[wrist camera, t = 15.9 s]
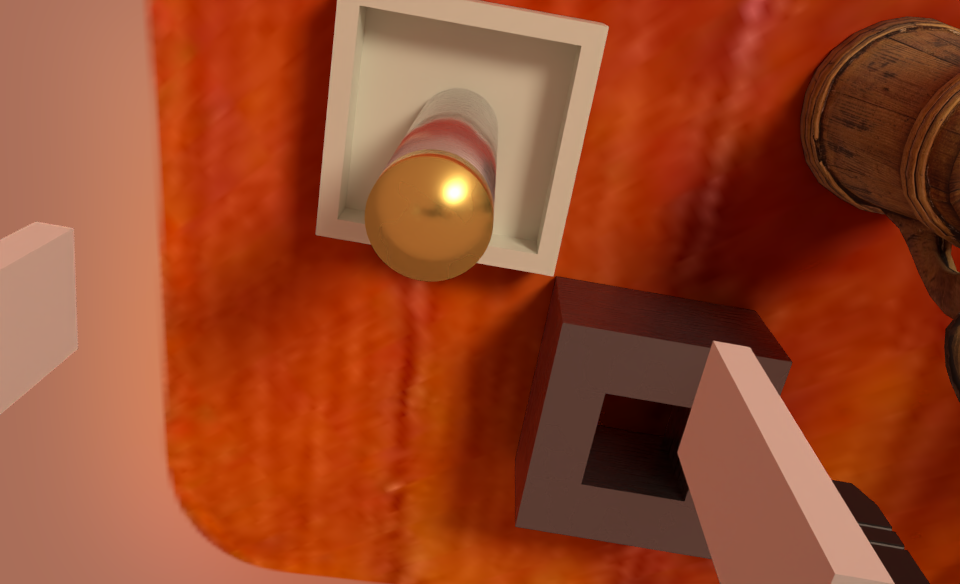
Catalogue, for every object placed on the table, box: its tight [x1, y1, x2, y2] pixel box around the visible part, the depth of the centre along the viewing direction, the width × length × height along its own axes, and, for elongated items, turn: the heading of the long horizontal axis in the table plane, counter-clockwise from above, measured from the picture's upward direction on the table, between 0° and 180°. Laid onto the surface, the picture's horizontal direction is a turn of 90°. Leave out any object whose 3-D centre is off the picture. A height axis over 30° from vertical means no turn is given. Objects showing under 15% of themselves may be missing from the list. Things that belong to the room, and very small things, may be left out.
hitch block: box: [515, 276, 792, 559], centre depth 41 cm, size 12×11×6 cm
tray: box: [315, 0, 609, 276], centre depth 37 cm, size 12×12×3 cm
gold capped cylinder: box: [365, 88, 498, 281], centre depth 31 cm, size 4×4×15 cm
